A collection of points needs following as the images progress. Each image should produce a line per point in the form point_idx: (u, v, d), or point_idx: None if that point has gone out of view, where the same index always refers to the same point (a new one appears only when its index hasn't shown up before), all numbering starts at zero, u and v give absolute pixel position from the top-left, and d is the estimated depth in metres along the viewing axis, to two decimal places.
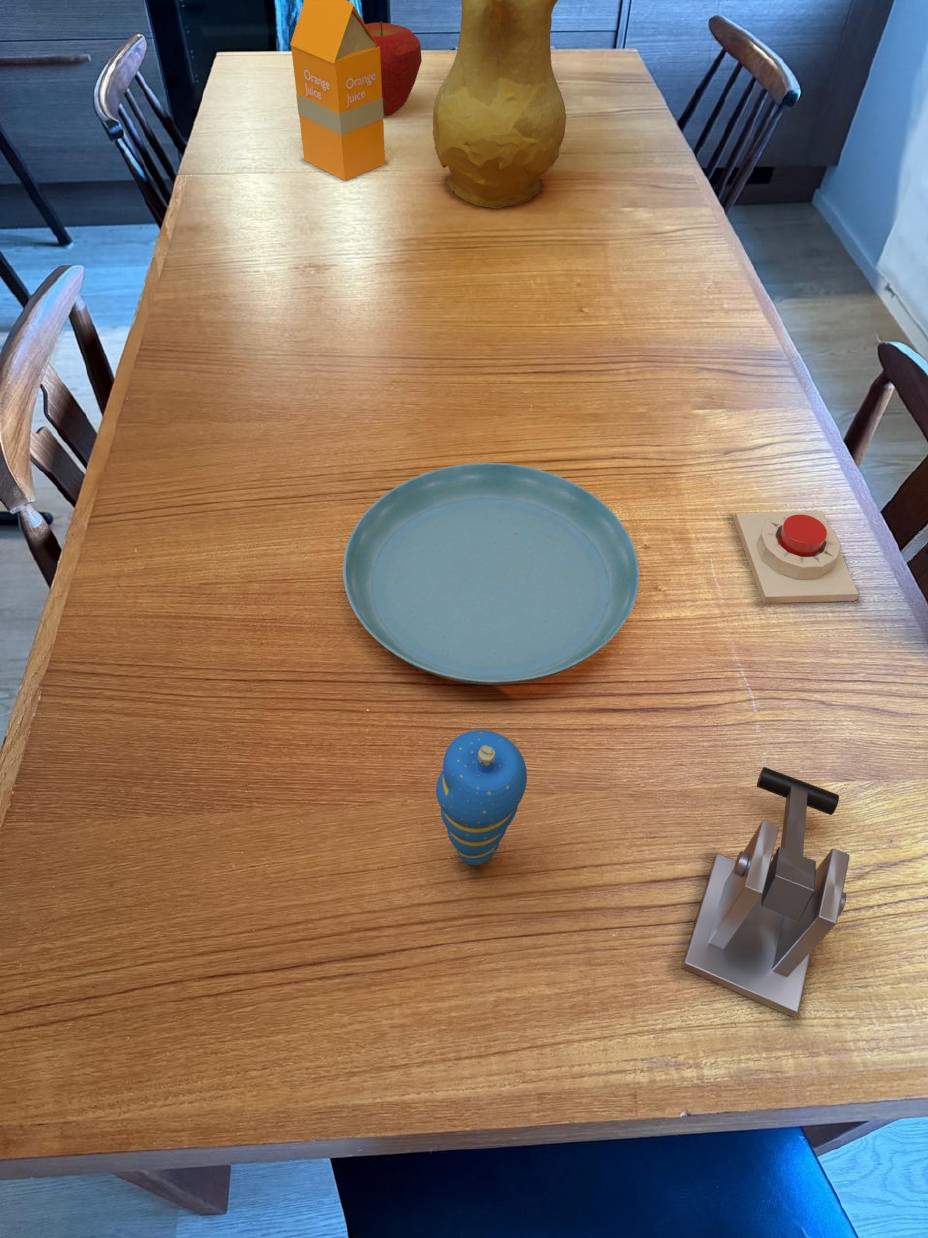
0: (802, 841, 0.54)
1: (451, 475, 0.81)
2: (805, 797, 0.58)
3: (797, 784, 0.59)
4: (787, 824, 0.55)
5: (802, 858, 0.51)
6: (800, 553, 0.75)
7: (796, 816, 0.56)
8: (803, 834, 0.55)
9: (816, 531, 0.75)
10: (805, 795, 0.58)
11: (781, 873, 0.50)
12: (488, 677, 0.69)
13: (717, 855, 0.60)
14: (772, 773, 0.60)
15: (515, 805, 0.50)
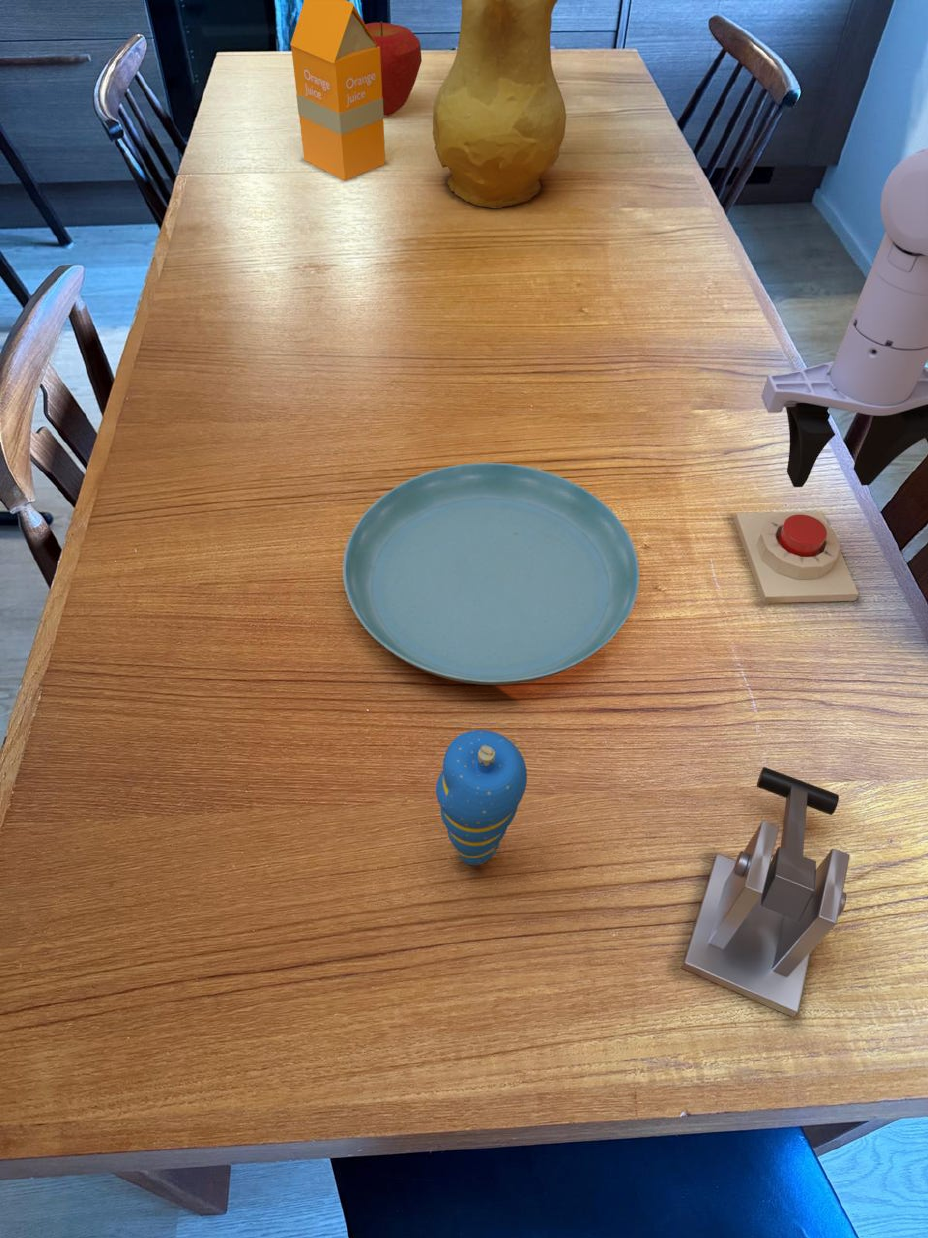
0: (802, 841, 0.54)
1: (451, 475, 0.81)
2: (805, 797, 0.58)
3: (797, 784, 0.59)
4: (787, 824, 0.55)
5: (802, 858, 0.51)
6: (800, 553, 0.75)
7: (796, 816, 0.56)
8: (803, 834, 0.55)
9: (816, 531, 0.75)
10: (805, 795, 0.58)
11: (781, 873, 0.50)
12: (488, 677, 0.69)
13: (717, 855, 0.60)
14: (772, 773, 0.60)
15: (515, 805, 0.50)
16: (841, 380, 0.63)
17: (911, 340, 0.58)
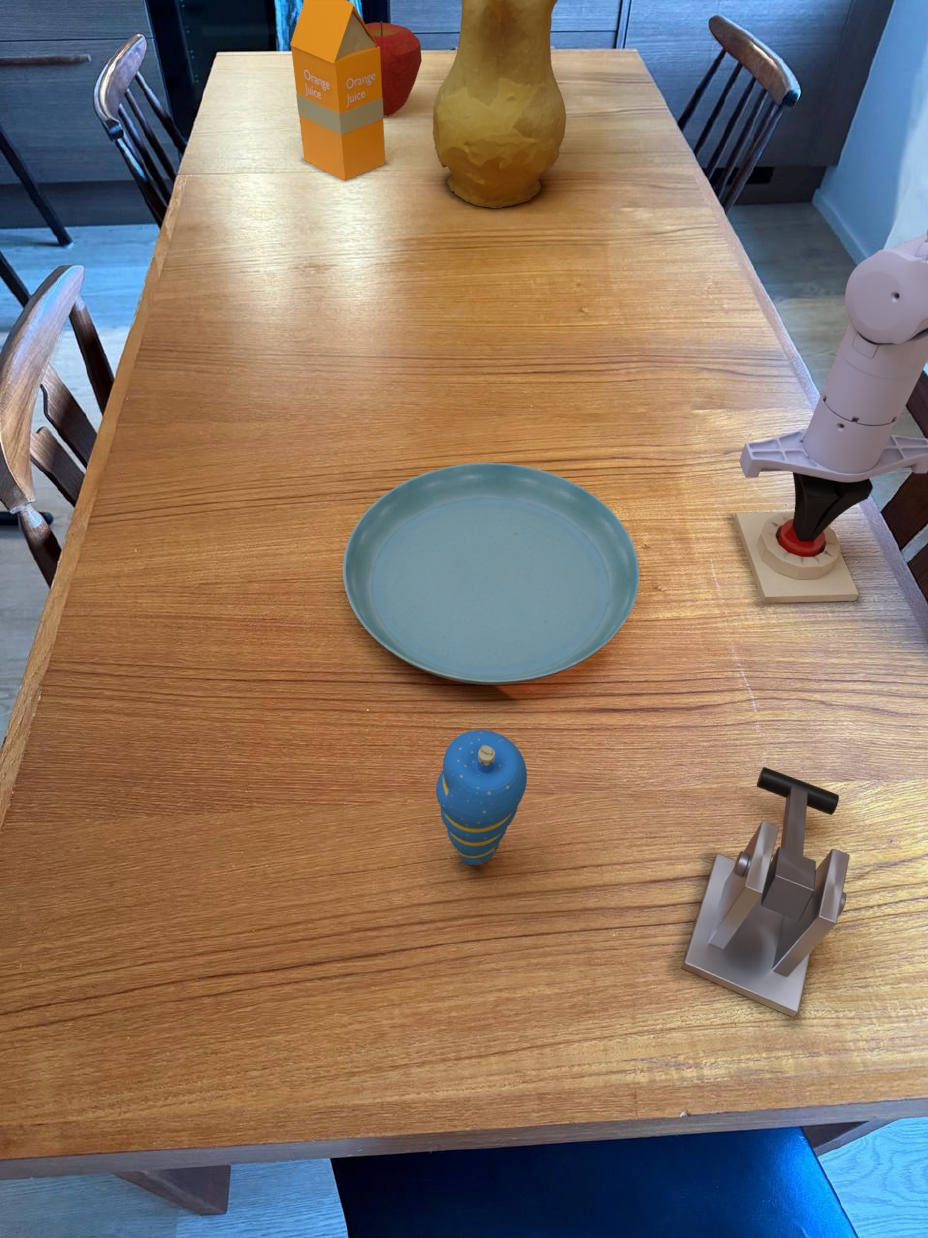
0: (802, 841, 0.54)
1: (451, 475, 0.81)
2: (805, 797, 0.58)
3: (797, 784, 0.59)
4: (787, 824, 0.55)
5: (802, 858, 0.51)
6: None
7: (796, 816, 0.56)
8: (803, 834, 0.55)
9: None
10: (805, 795, 0.58)
11: (781, 873, 0.50)
12: (488, 677, 0.69)
13: (717, 855, 0.60)
14: (772, 773, 0.60)
15: (515, 805, 0.50)
16: (812, 449, 0.68)
17: (875, 417, 0.63)
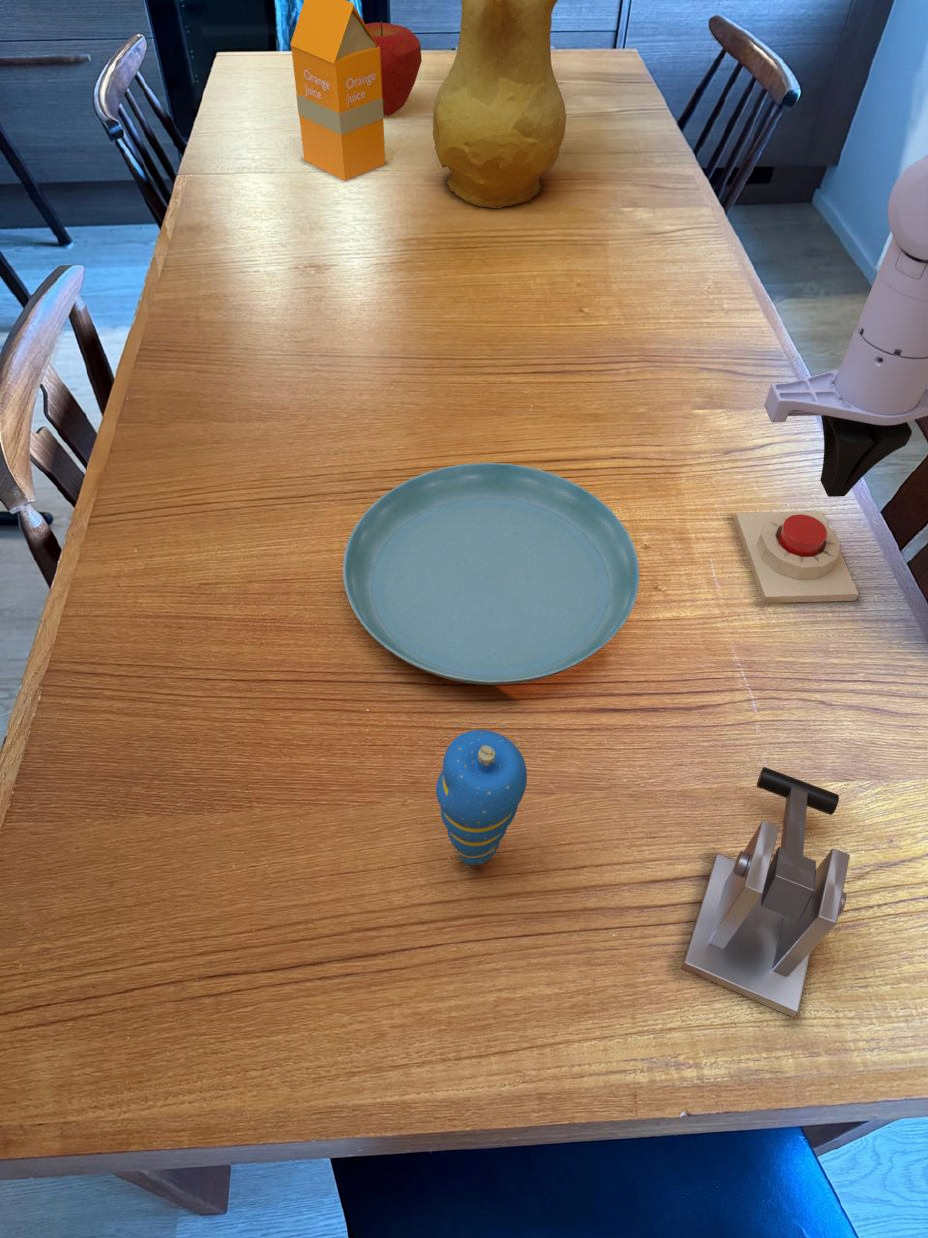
0: (802, 841, 0.54)
1: (451, 475, 0.81)
2: (805, 797, 0.58)
3: (797, 784, 0.59)
4: (787, 824, 0.55)
5: (802, 858, 0.51)
6: (800, 553, 0.75)
7: (796, 816, 0.56)
8: (803, 834, 0.55)
9: (816, 531, 0.75)
10: (805, 795, 0.58)
11: (781, 873, 0.50)
12: (488, 677, 0.69)
13: (717, 855, 0.60)
14: (772, 773, 0.60)
15: (515, 805, 0.50)
16: (846, 389, 0.61)
17: (920, 348, 0.57)
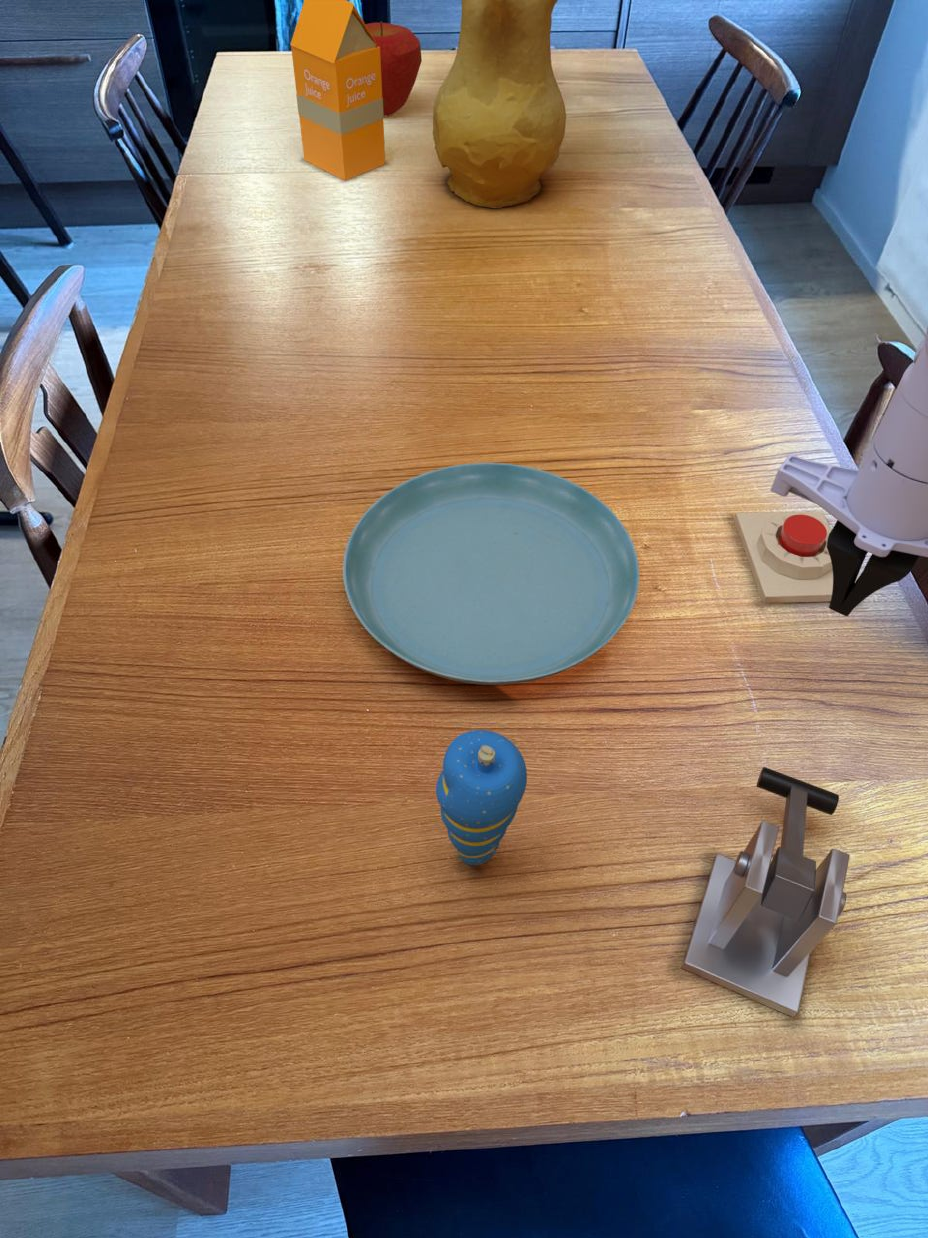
0: (802, 841, 0.54)
1: (451, 475, 0.81)
2: (805, 797, 0.58)
3: (797, 784, 0.59)
4: (787, 824, 0.55)
5: (802, 858, 0.51)
6: (800, 553, 0.75)
7: (796, 816, 0.56)
8: (803, 834, 0.55)
9: (816, 531, 0.75)
10: (805, 795, 0.58)
11: (781, 873, 0.50)
12: (488, 677, 0.69)
13: (717, 855, 0.60)
14: (772, 773, 0.60)
15: (515, 805, 0.50)
16: None
17: None
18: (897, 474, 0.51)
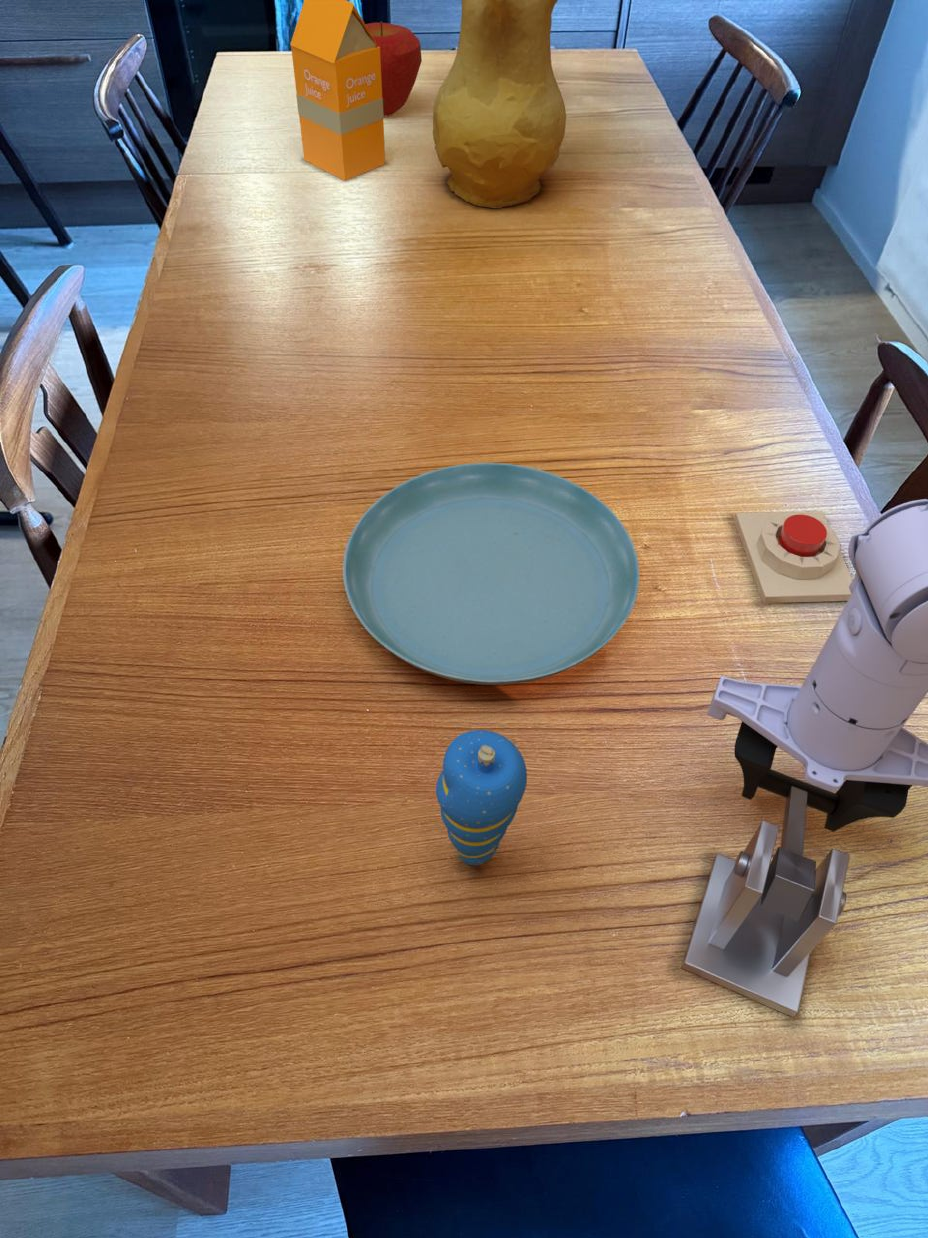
0: (802, 841, 0.54)
1: (451, 475, 0.81)
2: (805, 797, 0.58)
3: (797, 784, 0.59)
4: (787, 824, 0.55)
5: (802, 858, 0.51)
6: (800, 553, 0.75)
7: (796, 816, 0.56)
8: (803, 834, 0.55)
9: (816, 531, 0.75)
10: (805, 795, 0.58)
11: (781, 873, 0.50)
12: (488, 677, 0.69)
13: (717, 855, 0.60)
14: (772, 773, 0.60)
15: (515, 805, 0.50)
16: None
17: None
18: (843, 721, 0.49)
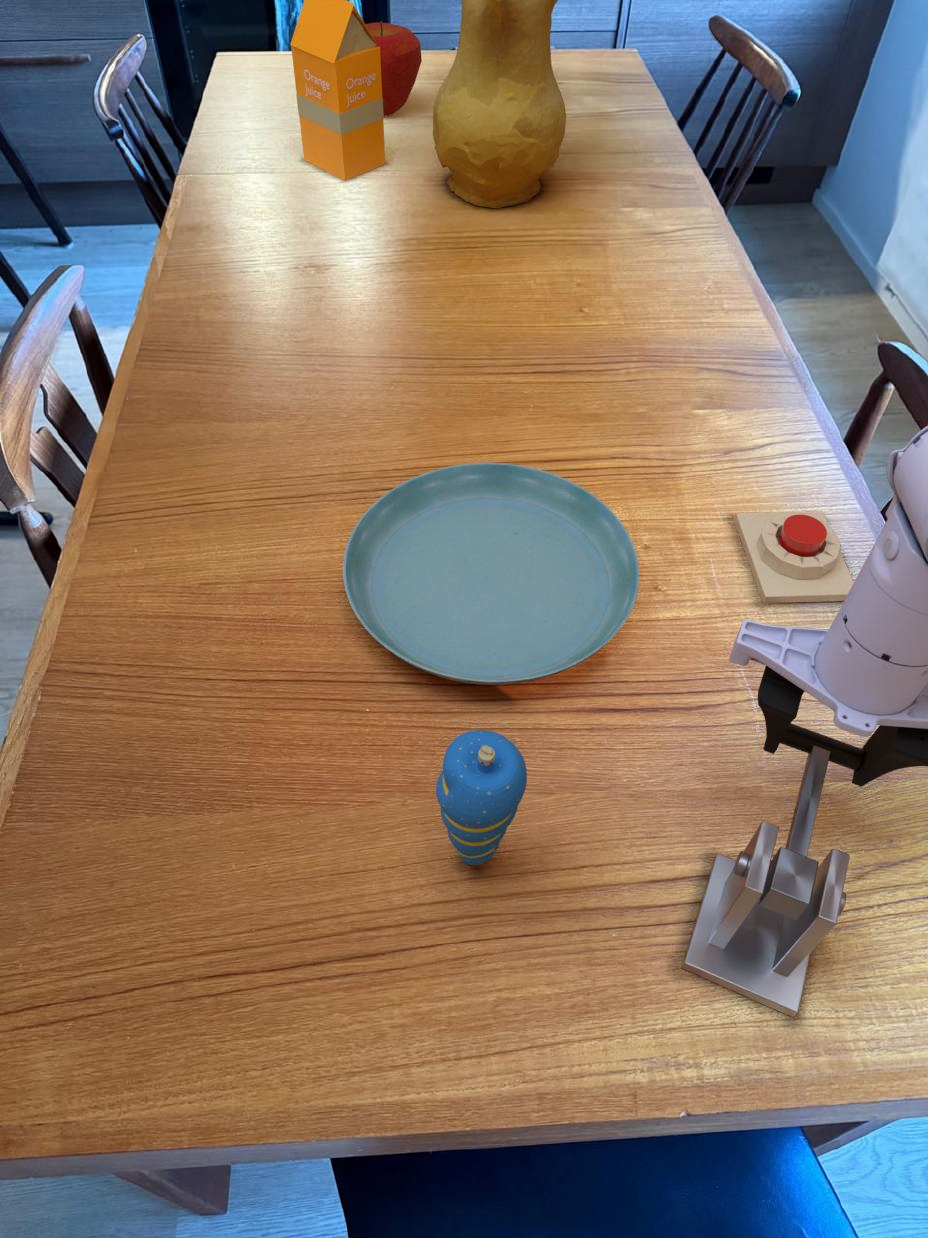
0: (811, 826, 0.53)
1: (451, 475, 0.81)
2: (826, 760, 0.56)
3: (820, 743, 0.56)
4: (799, 803, 0.54)
5: (804, 860, 0.51)
6: (800, 553, 0.75)
7: (811, 790, 0.54)
8: (814, 816, 0.53)
9: (816, 531, 0.75)
10: (827, 757, 0.56)
11: (777, 885, 0.50)
12: (488, 677, 0.69)
13: (717, 855, 0.60)
14: (793, 731, 0.57)
15: (515, 805, 0.50)
16: None
17: None
18: (877, 658, 0.46)
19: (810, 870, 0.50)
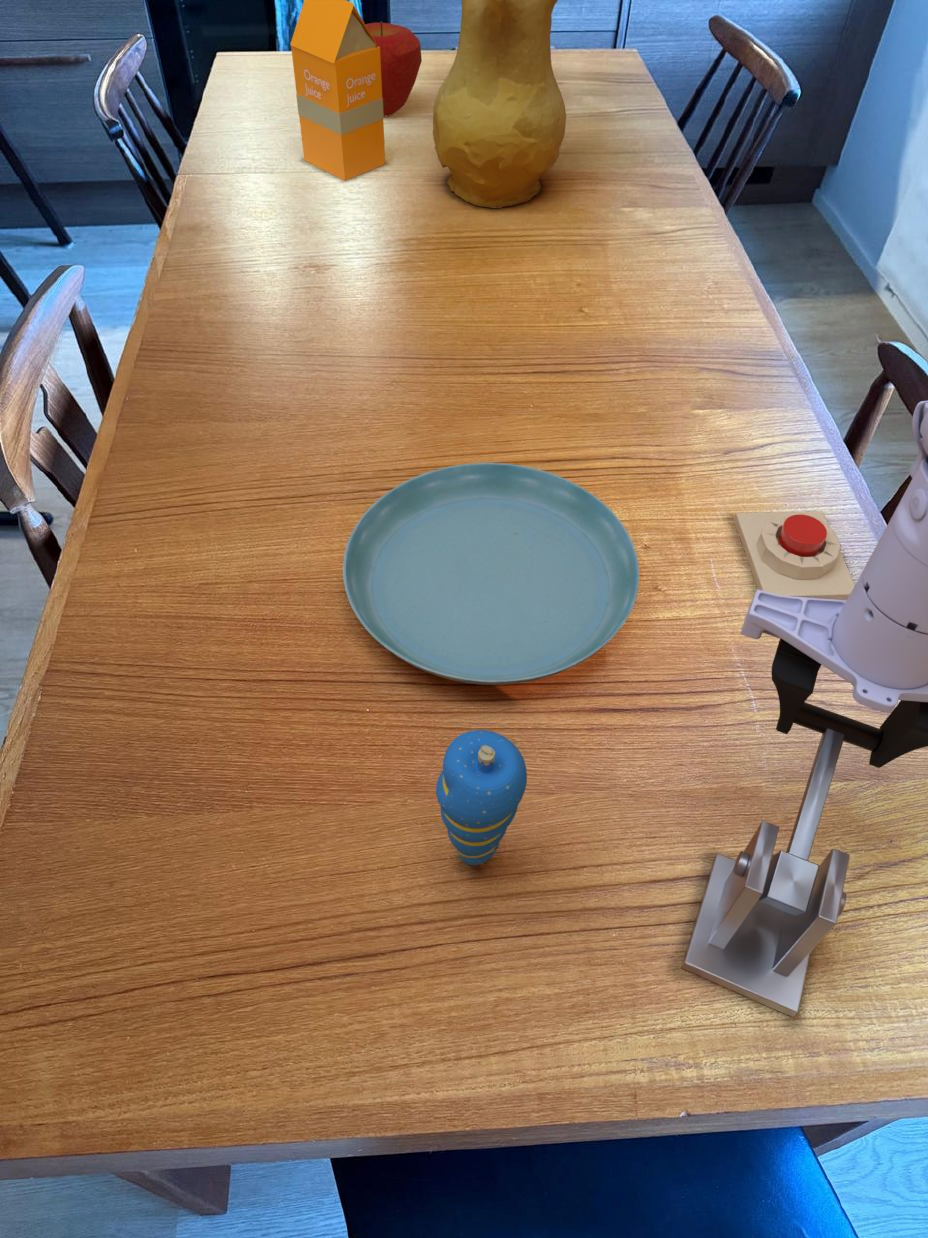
0: (817, 822, 0.52)
1: (451, 475, 0.81)
2: (839, 745, 0.53)
3: (834, 726, 0.54)
4: (806, 796, 0.52)
5: (804, 864, 0.50)
6: (800, 553, 0.75)
7: (820, 781, 0.53)
8: (821, 810, 0.52)
9: (816, 531, 0.75)
10: (840, 741, 0.53)
11: (773, 893, 0.50)
12: (488, 677, 0.69)
13: (717, 855, 0.60)
14: (806, 714, 0.54)
15: (515, 805, 0.50)
16: None
17: None
18: (900, 627, 0.43)
19: (809, 875, 0.50)
